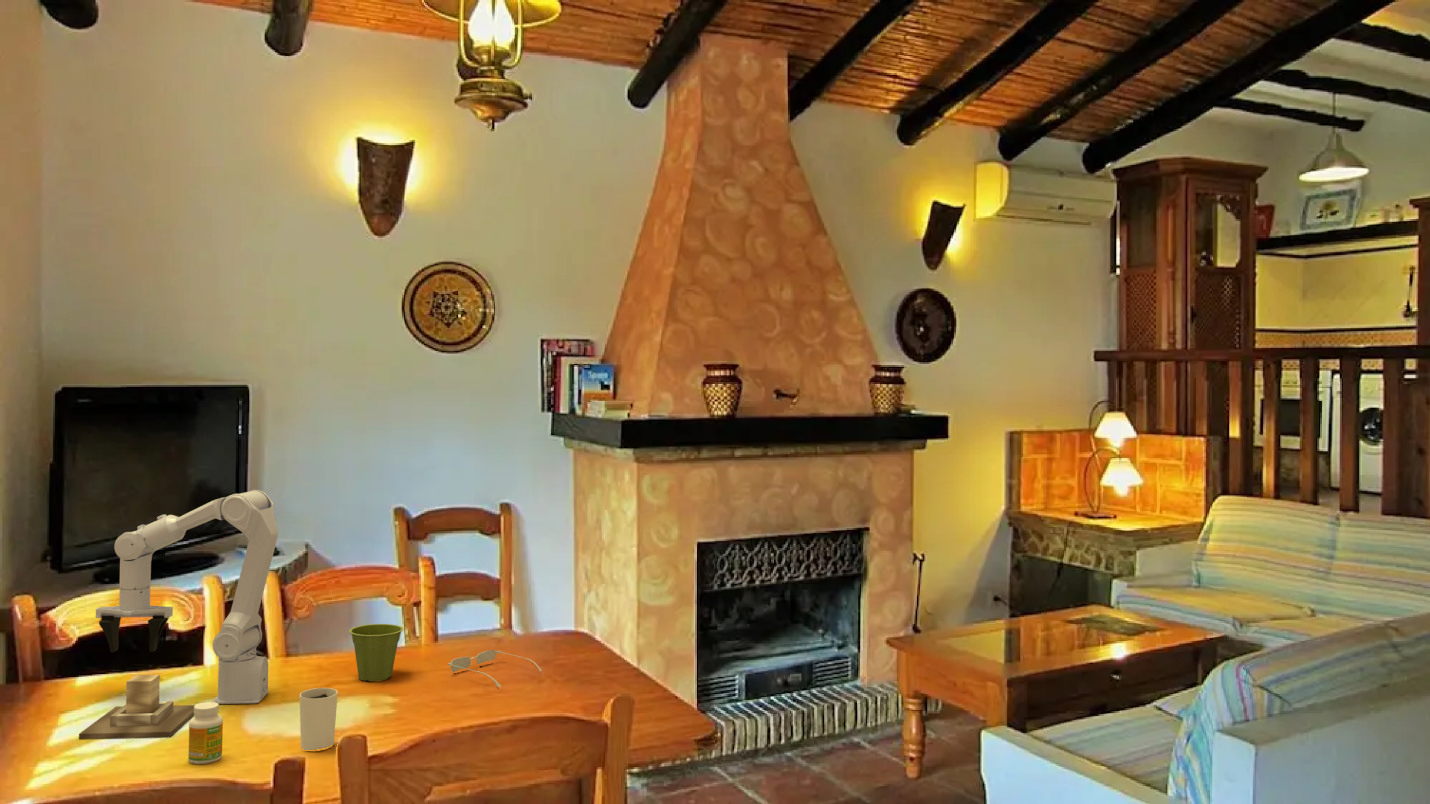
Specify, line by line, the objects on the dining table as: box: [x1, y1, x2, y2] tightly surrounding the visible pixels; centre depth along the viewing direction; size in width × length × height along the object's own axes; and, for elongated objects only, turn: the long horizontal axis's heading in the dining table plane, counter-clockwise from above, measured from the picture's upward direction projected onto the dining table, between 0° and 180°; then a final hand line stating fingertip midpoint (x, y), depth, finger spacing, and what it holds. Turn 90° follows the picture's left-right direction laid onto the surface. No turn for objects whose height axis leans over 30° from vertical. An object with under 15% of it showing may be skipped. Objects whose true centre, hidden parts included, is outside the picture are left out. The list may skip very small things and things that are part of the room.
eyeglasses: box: [447, 649, 543, 687], centre depth 237 cm, size 15×18×4 cm
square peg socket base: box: [78, 700, 196, 740], centre depth 198 cm, size 16×16×3 cm
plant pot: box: [348, 623, 404, 682], centre depth 232 cm, size 12×12×11 cm
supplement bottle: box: [187, 701, 224, 765], centre depth 181 cm, size 5×5×10 cm
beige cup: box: [299, 687, 338, 750], centre depth 189 cm, size 7×7×10 cm
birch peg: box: [125, 674, 161, 714], centre depth 198 cm, size 4×4×8 cm
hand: (133, 650), depth 215 cm, fingers open, 7 cm apart
